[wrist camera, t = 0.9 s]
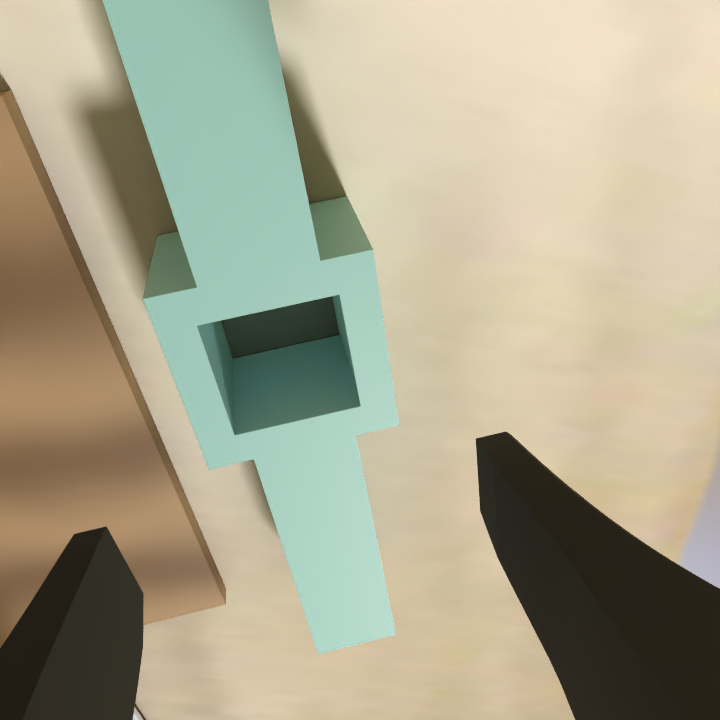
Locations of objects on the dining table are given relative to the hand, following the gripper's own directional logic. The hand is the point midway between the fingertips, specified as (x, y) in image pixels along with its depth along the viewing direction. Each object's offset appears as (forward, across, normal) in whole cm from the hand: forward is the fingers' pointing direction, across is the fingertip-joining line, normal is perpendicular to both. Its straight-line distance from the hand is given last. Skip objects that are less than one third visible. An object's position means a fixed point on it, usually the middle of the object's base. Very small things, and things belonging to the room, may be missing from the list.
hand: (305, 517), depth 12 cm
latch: (+9, 0, +2) cm, 9 cm away
